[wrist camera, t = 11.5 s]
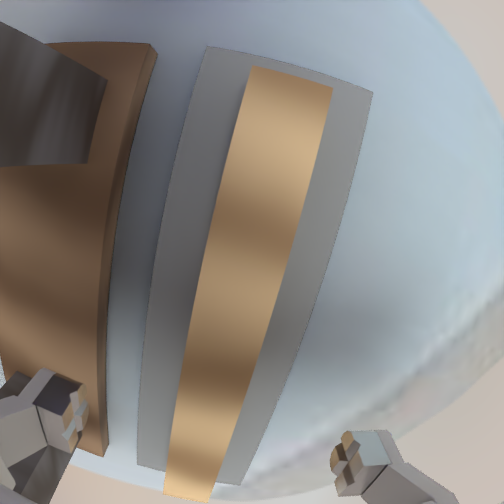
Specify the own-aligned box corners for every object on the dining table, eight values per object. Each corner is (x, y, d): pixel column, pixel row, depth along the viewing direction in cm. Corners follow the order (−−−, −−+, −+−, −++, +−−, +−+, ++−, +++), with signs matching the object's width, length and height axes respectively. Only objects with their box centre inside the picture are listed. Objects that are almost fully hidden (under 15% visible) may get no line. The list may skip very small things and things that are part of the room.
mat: (208, 51, 13) (207, 46, 12) (367, 95, 14) (373, 92, 13) (139, 457, 19) (136, 464, 19) (240, 477, 20) (240, 485, 19)
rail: (250, 86, 13) (252, 64, 10) (315, 103, 13) (333, 87, 10) (169, 463, 18) (162, 494, 16) (210, 471, 19) (207, 503, 16)
